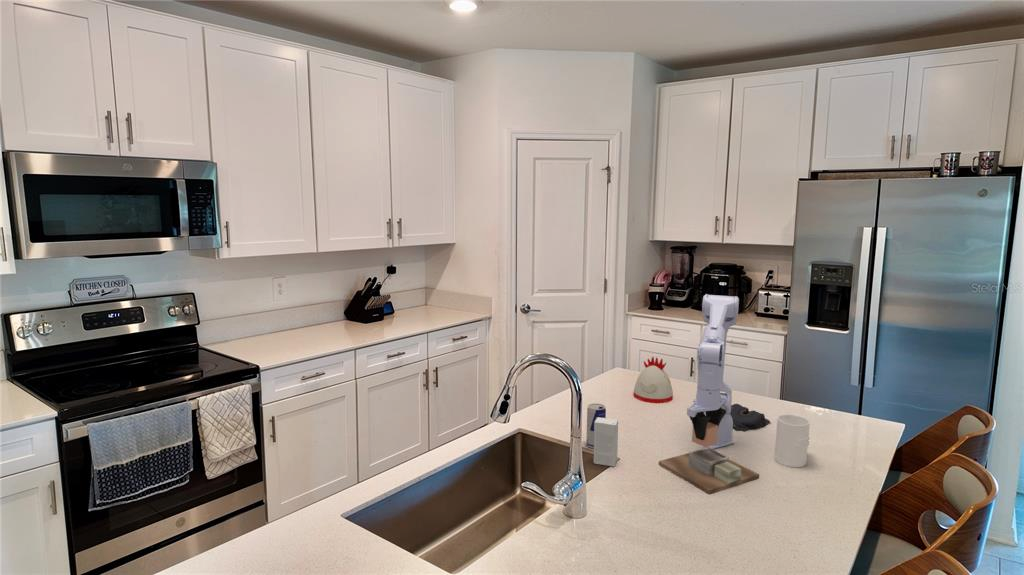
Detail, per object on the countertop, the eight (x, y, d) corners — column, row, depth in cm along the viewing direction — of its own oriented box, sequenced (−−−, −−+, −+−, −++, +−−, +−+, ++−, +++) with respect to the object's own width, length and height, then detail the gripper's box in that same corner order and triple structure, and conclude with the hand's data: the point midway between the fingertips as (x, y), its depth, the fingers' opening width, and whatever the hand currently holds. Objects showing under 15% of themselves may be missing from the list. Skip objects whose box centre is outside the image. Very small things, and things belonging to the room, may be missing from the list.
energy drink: (604, 450, 168) (605, 410, 166) (585, 448, 169) (586, 409, 167) (605, 442, 173) (606, 404, 171) (587, 441, 174) (588, 402, 172)
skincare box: (617, 460, 162) (619, 419, 160) (615, 467, 158) (616, 425, 156) (595, 457, 164) (596, 416, 162) (592, 463, 160) (594, 422, 158)
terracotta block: (702, 437, 159) (703, 420, 158) (716, 443, 155) (717, 425, 154) (691, 441, 156) (692, 423, 155) (706, 447, 152) (707, 429, 152)
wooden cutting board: (706, 451, 168) (707, 436, 167) (759, 478, 152) (760, 461, 151) (658, 464, 159) (659, 448, 158) (708, 494, 144) (710, 476, 143)
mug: (819, 459, 163) (823, 418, 161) (797, 470, 156) (801, 428, 154) (791, 448, 170) (794, 409, 168) (768, 459, 163) (771, 418, 161)
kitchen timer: (665, 406, 204) (667, 364, 202) (627, 398, 211) (629, 358, 209) (677, 395, 215) (679, 355, 213) (641, 388, 223) (643, 350, 221)
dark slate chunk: (720, 404, 207) (721, 391, 206) (774, 426, 188) (776, 411, 187) (689, 412, 200) (690, 398, 199) (742, 435, 181) (743, 420, 180)
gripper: (712, 378, 160) (709, 425, 162) (678, 388, 152) (675, 437, 154) (735, 385, 155) (732, 433, 157) (701, 395, 146) (698, 447, 148)
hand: (705, 436), depth 155 cm, fingers closed on terracotta block, 4 cm apart
